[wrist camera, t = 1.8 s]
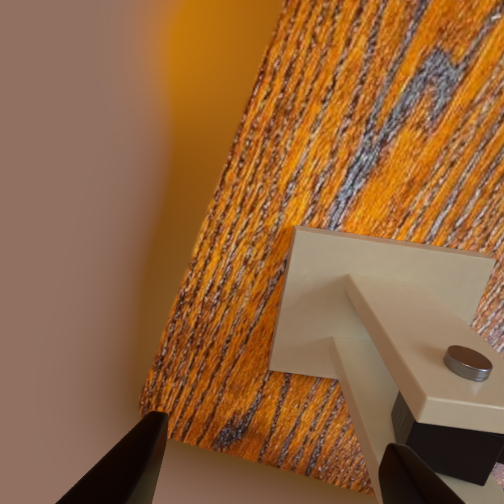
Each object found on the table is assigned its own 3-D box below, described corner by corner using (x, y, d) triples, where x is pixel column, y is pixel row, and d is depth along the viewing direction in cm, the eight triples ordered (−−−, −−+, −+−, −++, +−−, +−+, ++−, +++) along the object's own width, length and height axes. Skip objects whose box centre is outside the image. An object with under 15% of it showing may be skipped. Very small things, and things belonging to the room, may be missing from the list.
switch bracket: (483, 252, 20) (712, 376, 10) (434, 381, 23) (573, 579, 13) (293, 224, 20) (330, 322, 10) (268, 358, 23) (275, 542, 13)
